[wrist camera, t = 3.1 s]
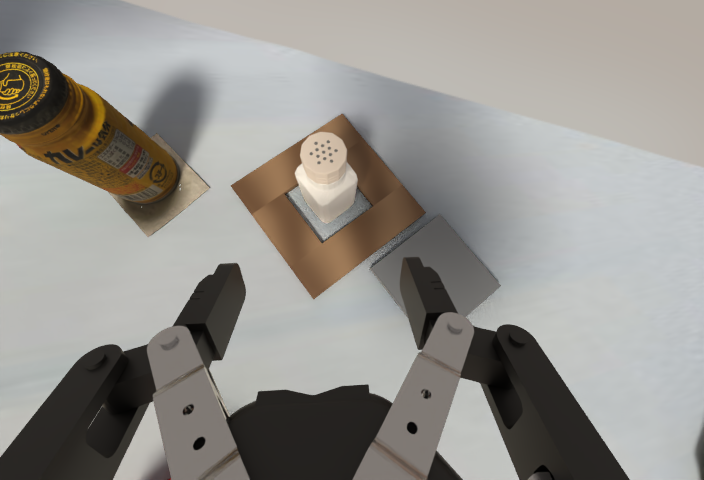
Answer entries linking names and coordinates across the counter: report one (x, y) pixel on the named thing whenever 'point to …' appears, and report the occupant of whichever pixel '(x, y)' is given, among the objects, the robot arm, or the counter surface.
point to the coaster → (440, 266)
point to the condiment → (92, 141)
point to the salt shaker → (326, 176)
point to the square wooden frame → (350, 242)
